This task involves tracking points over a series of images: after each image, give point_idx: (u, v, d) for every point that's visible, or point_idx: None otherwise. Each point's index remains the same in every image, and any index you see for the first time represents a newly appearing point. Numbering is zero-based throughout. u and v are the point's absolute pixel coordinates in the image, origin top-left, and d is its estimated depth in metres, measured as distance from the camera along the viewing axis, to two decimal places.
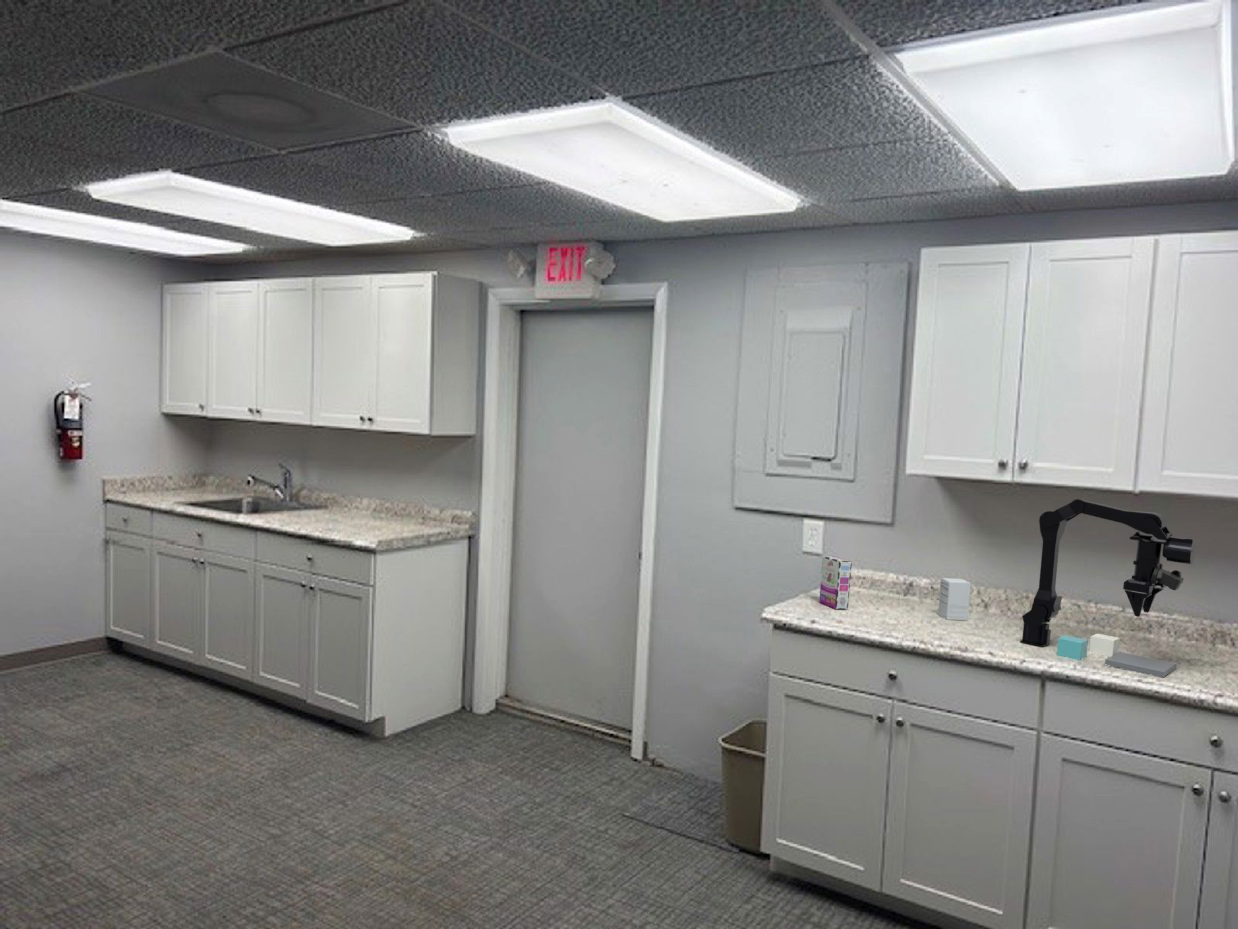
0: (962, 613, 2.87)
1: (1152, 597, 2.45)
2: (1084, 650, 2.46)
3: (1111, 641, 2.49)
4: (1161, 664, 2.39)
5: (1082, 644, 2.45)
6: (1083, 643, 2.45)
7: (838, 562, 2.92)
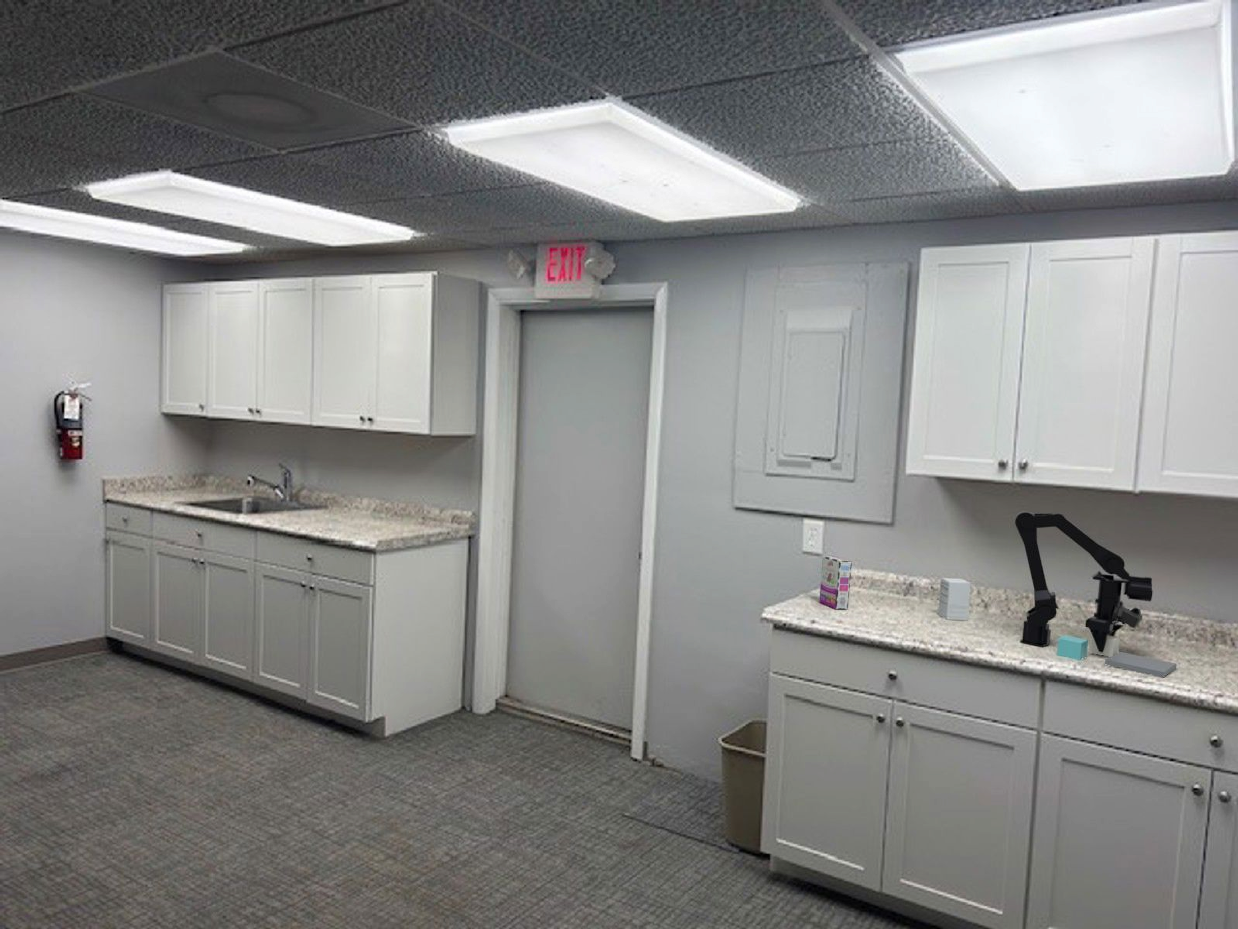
0: (962, 613, 2.87)
1: (1112, 634, 2.55)
2: (1084, 650, 2.46)
3: (1111, 641, 2.49)
4: (1161, 664, 2.39)
5: (1082, 644, 2.45)
6: (1083, 643, 2.45)
7: (837, 562, 2.92)
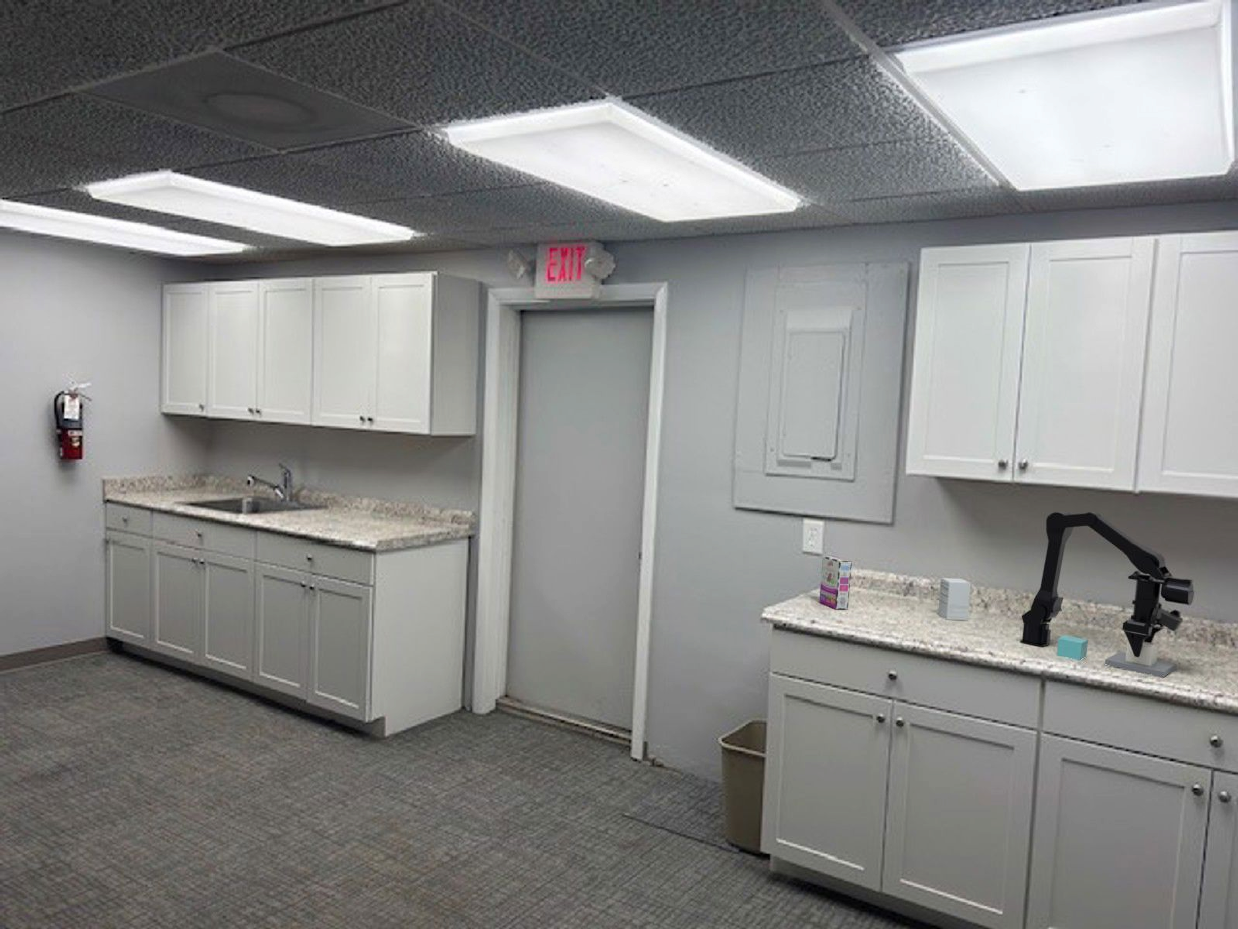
0: (962, 613, 2.87)
1: (1151, 636, 2.43)
2: (1084, 650, 2.47)
3: (1149, 648, 2.37)
4: (1161, 664, 2.39)
5: (1082, 644, 2.45)
6: (1083, 643, 2.45)
7: (838, 562, 2.92)
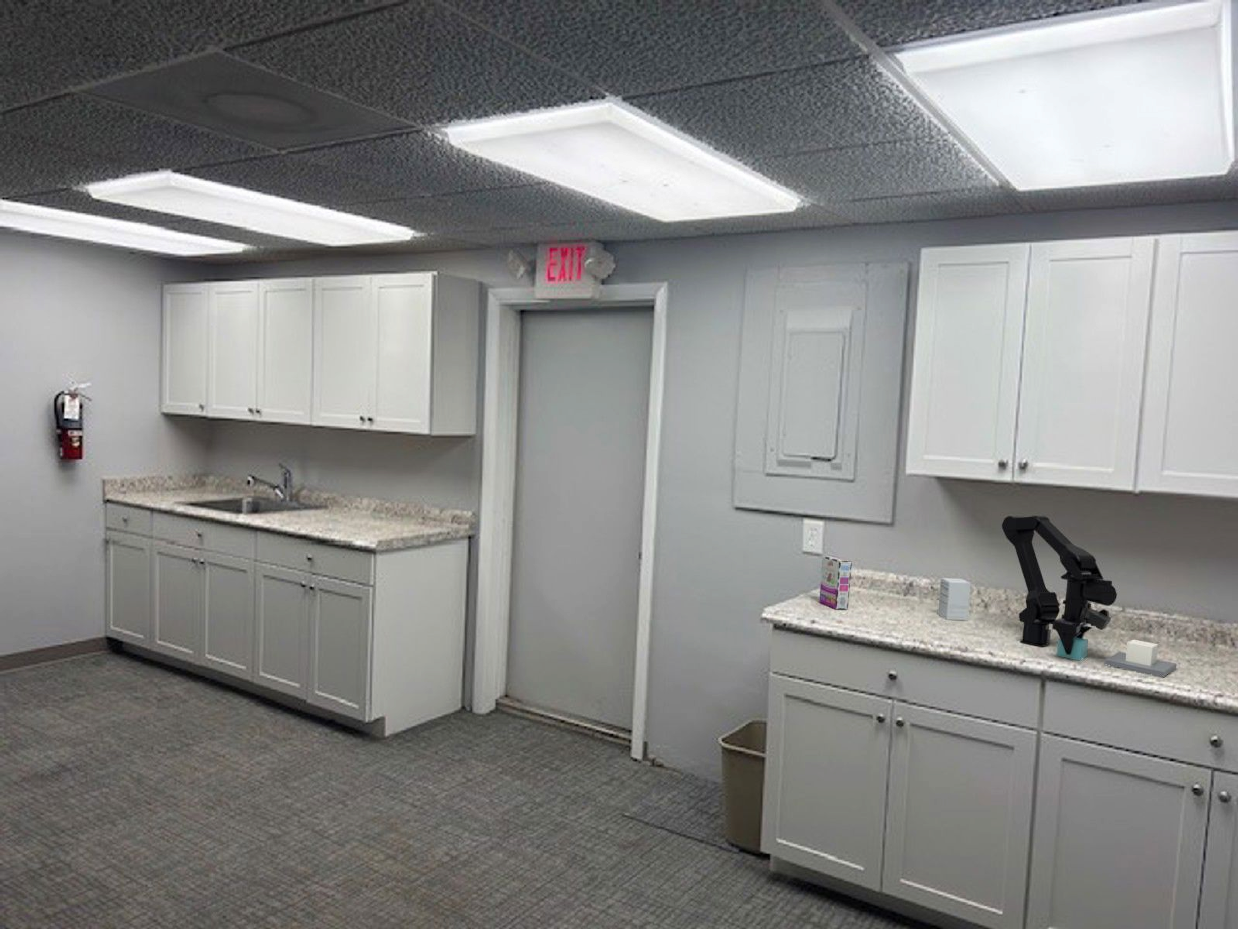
0: (962, 613, 2.87)
1: (1081, 636, 2.50)
2: (1084, 650, 2.46)
3: (1149, 648, 2.37)
4: (1161, 664, 2.39)
5: (1082, 644, 2.45)
6: (1083, 643, 2.45)
7: (838, 562, 2.92)
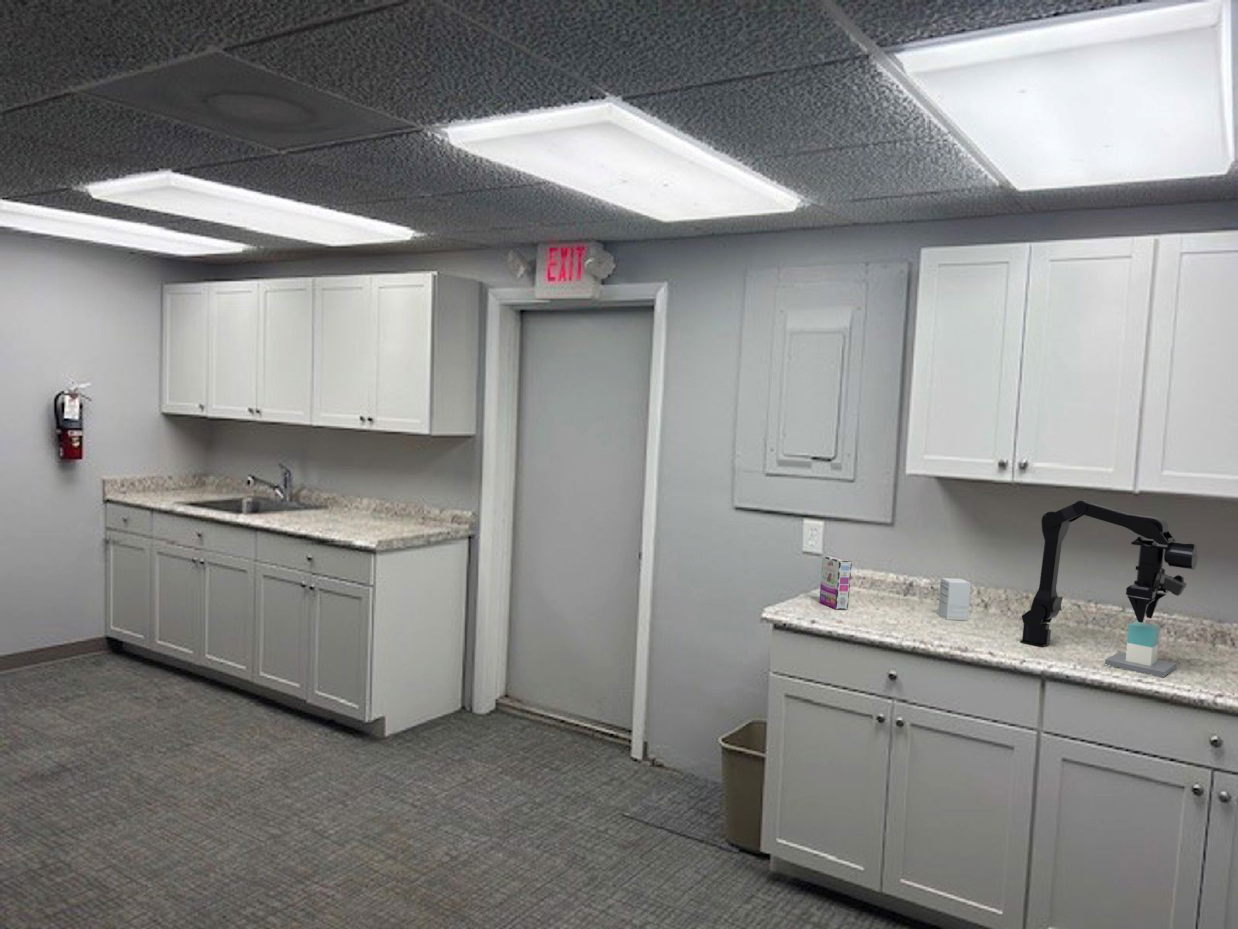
0: (962, 613, 2.87)
1: (1155, 602, 2.43)
2: (1156, 637, 2.39)
3: (1149, 648, 2.37)
4: (1161, 664, 2.39)
5: (1154, 630, 2.37)
6: (1155, 629, 2.37)
7: (838, 562, 2.92)
